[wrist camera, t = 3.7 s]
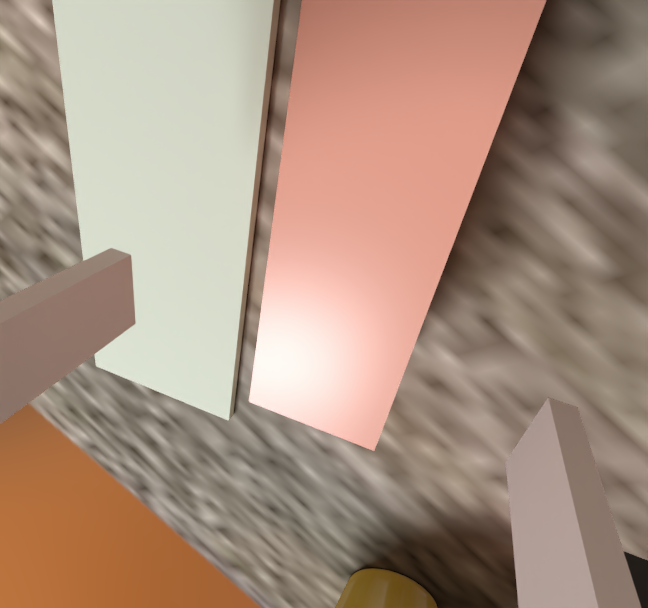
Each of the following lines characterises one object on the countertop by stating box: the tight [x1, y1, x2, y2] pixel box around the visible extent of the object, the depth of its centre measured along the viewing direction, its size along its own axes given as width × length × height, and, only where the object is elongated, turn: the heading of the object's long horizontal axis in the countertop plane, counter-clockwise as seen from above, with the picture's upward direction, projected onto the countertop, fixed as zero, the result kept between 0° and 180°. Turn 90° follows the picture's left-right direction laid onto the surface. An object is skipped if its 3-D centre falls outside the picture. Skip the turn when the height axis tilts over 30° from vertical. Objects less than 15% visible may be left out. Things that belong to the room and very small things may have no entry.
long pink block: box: [249, 0, 546, 451], centre depth 13 cm, size 20×5×7 cm, turn 169°
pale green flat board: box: [52, 0, 281, 420], centre depth 21 cm, size 24×10×1 cm, turn 169°
